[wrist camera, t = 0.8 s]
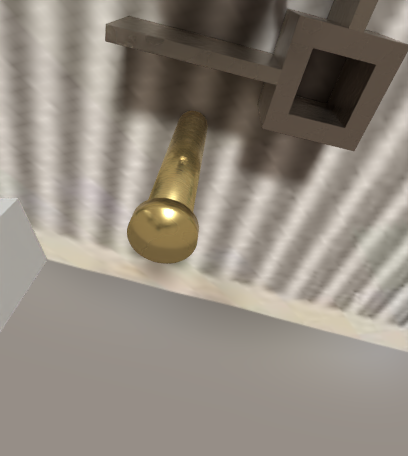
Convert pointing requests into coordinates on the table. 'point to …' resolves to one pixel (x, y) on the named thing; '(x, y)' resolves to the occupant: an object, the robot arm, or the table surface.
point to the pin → (172, 198)
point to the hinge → (292, 67)
